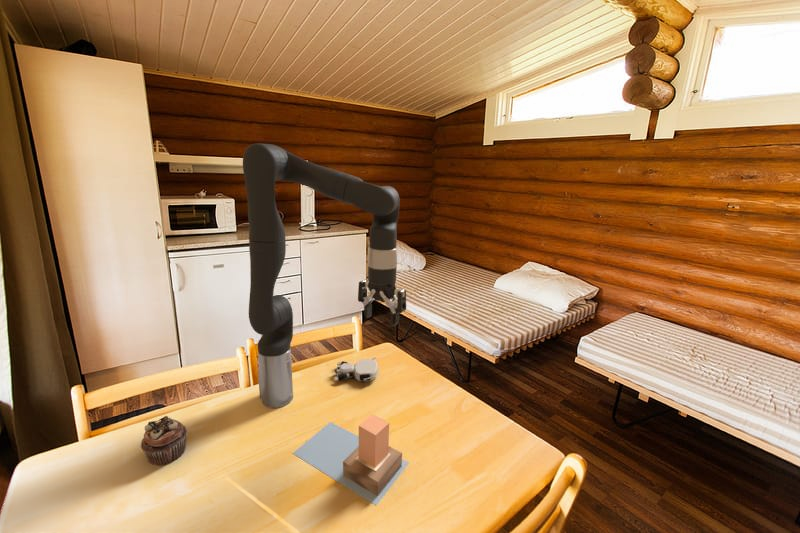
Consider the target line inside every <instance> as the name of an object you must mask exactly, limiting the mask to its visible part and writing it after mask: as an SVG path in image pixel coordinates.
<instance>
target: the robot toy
mask: <svg viewBox="0 0 800 533" xmlns="http://www.w3.org/2000/svg"><path fill="white" fill-rule="evenodd" d="M376 359H378V357H373V358H361V359H360V360H358V361H357V362H356V363H355V364H354V363H350V362H348V361H339V362H337V367H336V368H335V369H334V372H335V374H336V376H334V377H333V381H335V382H341V381H344V380H346V379H350V378H353V377H354V378H355V380H357V381H358V382H370V381H373V380H375V379H376V377H377V376H378V374H379V364H378V362H377V361H376Z"/></svg>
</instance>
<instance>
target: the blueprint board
mask: <svg viewBox="0 0 800 533" xmlns="http://www.w3.org/2000/svg"><path fill="white" fill-rule="evenodd" d="M358 446H359V435H356V434H355V433H353V432H351V431H349V430H347V429H346V428H343V427H341V426H339V425H337V424H335V423H333V422H331V421H330V422H328V423H327V424H326V425H324V427H323V428H321V429H320V430H318V431H317V432H316V433H315V434H314V435H312V436H311V437H310V438H309V439H308V440H307V441H305V442H304V443H303V444H302V445H301V446H299V447H298V448H296V449H295V450H294V451H293V452H292V454H293V455H295V457H297V458H299V459H301V460H303V461H304V462H306V464H308V465H310V466H311V467H313V468H314V469H316V470H319V472H322V473H323V474H325V475H326V476H328V477H329V478H331V479H333V480H334V481H336V482H337V483H339V484H340V485H342V486H344V487H345V488H347V489H349V490H350V491H352V492H353V493H355V494H357V495H358V496H360V497H361V498H363V499H365V500H366V501H367V502H370V503H371V504H372V505H373V506H378V504H379V503H380V501H382V499H383V498H384V496H385V495H386V494H387V493H388V491H389V490H390V488H391V487H392V486H393V484H394V483H395V482H396V481H397V480H398V479H399V477H400V475H402V473H403V471H404V470H405V469H406V467H407V466H408V465H409V464H410V462H408V461H407V460H405V459H403V458H402V466H401V468H400V469H399V470H398V472H397V473H396V474H395V475H394V477H393V478H392V479H391V480H390V482H389V483H388V484H387V485H386V487H385V488H384V489H383V490H382V492H381V493H380V494H379V496H376V495H375V494H373V493H371V492H370V491H368V490H366V489H365V488H363V487H361V486H360V485H358V484H356V483H355V482H353V481H351V480H350V479H348V478H347V477H345V476H343V461H344V460H345V459H346V458H347V457H348V456H349V455H350V454H351V453H352V452H353V451H354V450H355V449H356V448H357V447H358Z"/></svg>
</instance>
